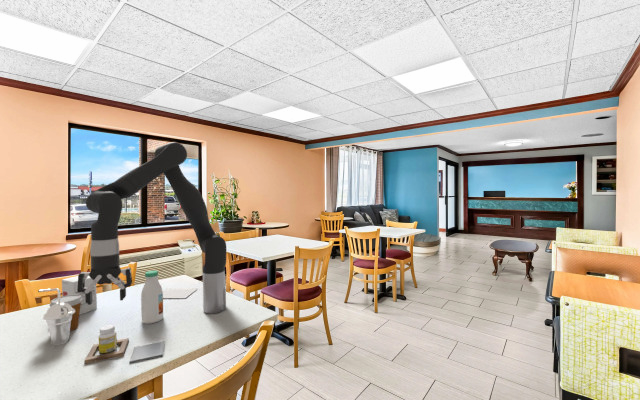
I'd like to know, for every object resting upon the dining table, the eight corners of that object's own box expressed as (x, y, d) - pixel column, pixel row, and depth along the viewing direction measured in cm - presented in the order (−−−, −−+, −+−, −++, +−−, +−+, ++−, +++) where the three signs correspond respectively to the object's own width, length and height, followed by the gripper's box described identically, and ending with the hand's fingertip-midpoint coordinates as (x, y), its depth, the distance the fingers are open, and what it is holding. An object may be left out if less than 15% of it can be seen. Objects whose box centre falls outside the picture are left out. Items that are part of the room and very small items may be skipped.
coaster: (164, 342, 101) (164, 341, 101) (162, 356, 93) (162, 354, 93) (134, 348, 97) (134, 347, 97) (129, 363, 89) (129, 361, 89)
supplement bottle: (105, 348, 98) (104, 324, 97) (120, 347, 98) (119, 323, 98) (95, 356, 93) (94, 330, 93) (111, 355, 93) (110, 330, 93)
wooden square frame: (128, 341, 102) (128, 338, 102) (123, 356, 93) (123, 352, 93) (93, 348, 98) (93, 344, 98) (84, 364, 89) (84, 360, 89)
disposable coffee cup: (89, 325, 114) (88, 295, 114) (60, 337, 105) (59, 304, 105) (73, 322, 117) (72, 292, 117) (44, 333, 108) (43, 301, 108)
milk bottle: (153, 325, 115) (152, 275, 114) (137, 323, 116) (135, 273, 116) (167, 316, 122) (166, 269, 122) (151, 315, 124) (150, 268, 123)
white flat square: (175, 307, 133) (175, 305, 133) (121, 307, 133) (121, 305, 133) (197, 289, 156) (197, 288, 156) (151, 289, 156) (151, 288, 156)
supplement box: (61, 313, 126) (60, 279, 125) (85, 305, 134) (84, 273, 134) (74, 316, 122) (73, 281, 122) (97, 308, 131) (96, 275, 130)
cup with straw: (73, 343, 101) (72, 287, 100) (38, 351, 96) (36, 292, 95) (78, 333, 108) (76, 280, 107) (45, 340, 103) (43, 284, 102)
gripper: (132, 248, 101) (133, 294, 101) (81, 252, 95) (82, 301, 95) (129, 253, 94) (130, 302, 95) (73, 257, 88) (74, 309, 89)
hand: (106, 301), depth 95 cm, fingers open, 8 cm apart
